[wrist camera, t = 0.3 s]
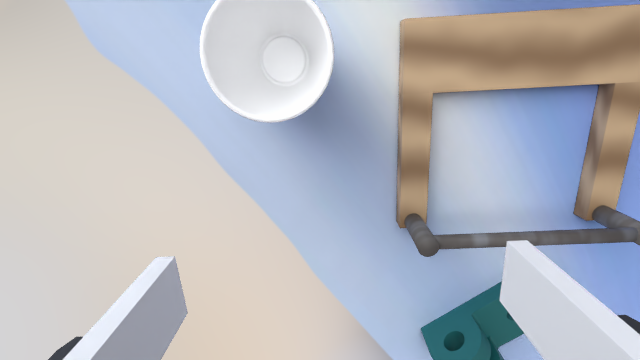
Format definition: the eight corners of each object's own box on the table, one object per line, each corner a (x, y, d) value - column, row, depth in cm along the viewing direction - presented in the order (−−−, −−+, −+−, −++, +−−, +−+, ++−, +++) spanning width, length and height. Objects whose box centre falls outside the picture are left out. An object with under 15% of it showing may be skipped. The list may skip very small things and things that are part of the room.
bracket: (446, 358, 47) (469, 412, 39) (420, 327, 45) (439, 377, 38) (565, 293, 43) (615, 339, 36) (541, 257, 42) (589, 297, 34)
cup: (231, 96, 36) (191, 106, 25) (245, -4, 33) (207, -39, 22) (320, 117, 36) (317, 135, 26) (341, 20, 33) (349, -3, 23)
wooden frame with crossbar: (400, 21, 33) (422, 6, 26) (645, 6, 33) (743, -13, 25) (396, 222, 40) (412, 257, 33) (599, 213, 39) (664, 247, 32)
